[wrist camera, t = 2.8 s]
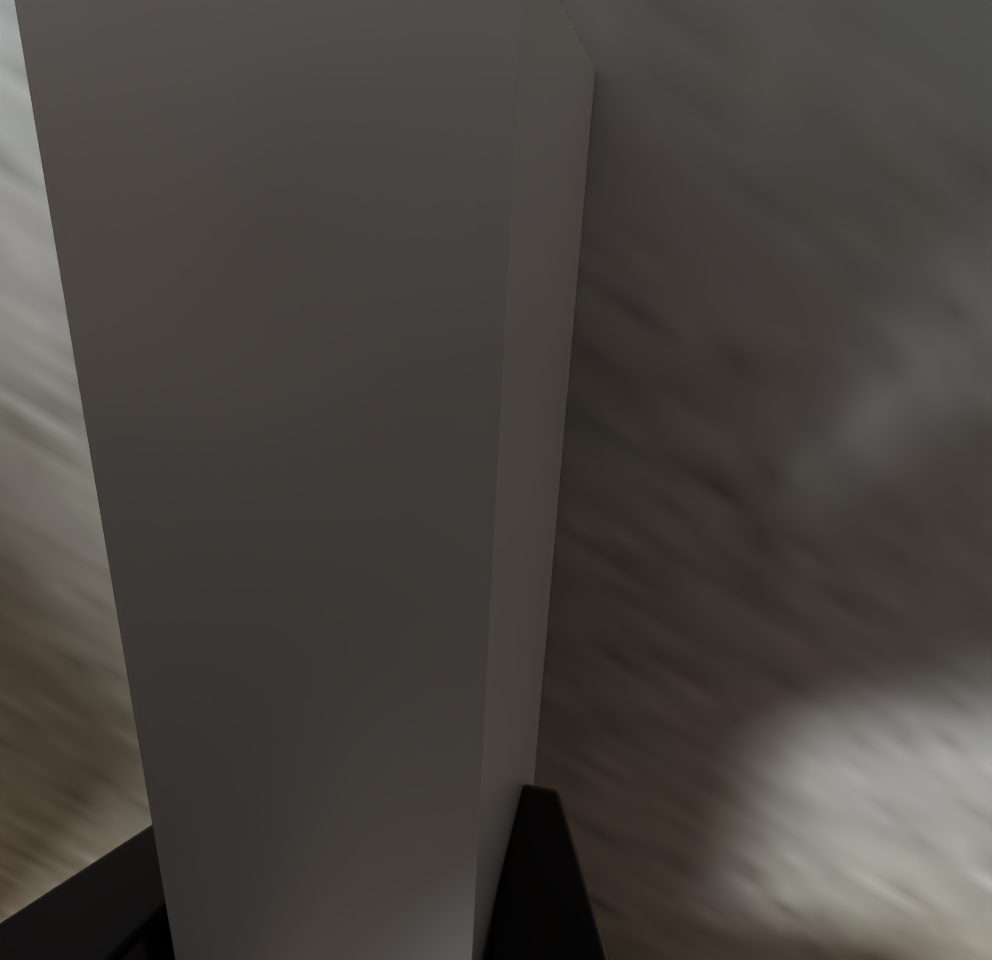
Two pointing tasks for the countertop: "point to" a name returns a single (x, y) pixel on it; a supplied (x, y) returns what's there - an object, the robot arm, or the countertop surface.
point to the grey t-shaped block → (323, 435)
